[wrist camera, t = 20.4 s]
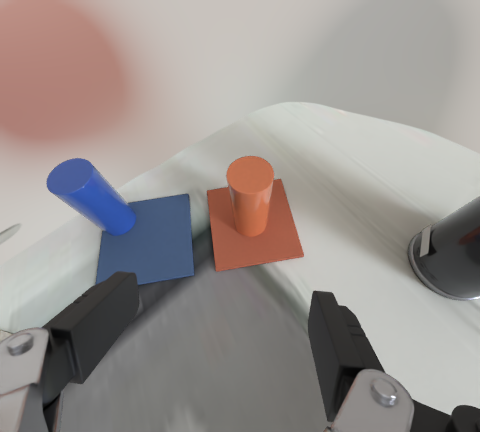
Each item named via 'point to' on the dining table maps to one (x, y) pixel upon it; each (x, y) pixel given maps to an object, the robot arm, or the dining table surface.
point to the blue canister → (91, 196)
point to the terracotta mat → (257, 247)
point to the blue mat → (151, 243)
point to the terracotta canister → (250, 194)
